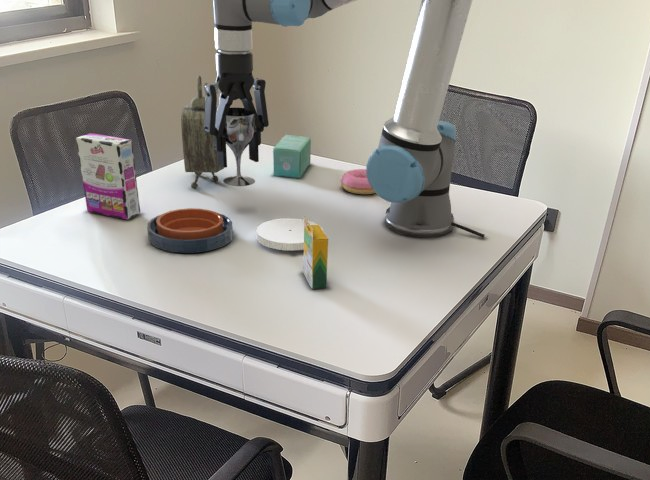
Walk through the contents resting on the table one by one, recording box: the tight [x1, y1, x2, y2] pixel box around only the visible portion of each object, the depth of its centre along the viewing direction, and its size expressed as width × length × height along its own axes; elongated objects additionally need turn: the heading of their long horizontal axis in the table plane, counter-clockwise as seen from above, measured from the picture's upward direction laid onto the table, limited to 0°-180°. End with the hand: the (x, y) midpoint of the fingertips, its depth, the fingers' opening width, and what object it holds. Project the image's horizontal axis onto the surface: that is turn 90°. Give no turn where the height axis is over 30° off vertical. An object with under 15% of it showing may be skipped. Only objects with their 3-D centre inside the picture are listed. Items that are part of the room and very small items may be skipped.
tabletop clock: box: [180, 75, 225, 189], centre depth 176 cm, size 14×9×25 cm, turn 6°
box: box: [272, 134, 312, 179], centre depth 192 cm, size 7×14×8 cm, turn 171°
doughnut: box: [340, 168, 376, 195], centre depth 182 cm, size 11×11×4 cm
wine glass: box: [222, 107, 256, 187], centre depth 158 cm, size 8×8×15 cm
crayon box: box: [302, 216, 329, 290], centre depth 134 cm, size 7×3×12 cm, turn 17°
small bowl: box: [156, 207, 224, 239], centre depth 151 cm, size 13×13×4 cm
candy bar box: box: [75, 132, 141, 220], centre depth 157 cm, size 11×5×16 cm, turn 68°
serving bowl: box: [146, 212, 234, 254], centre depth 151 cm, size 17×17×3 cm
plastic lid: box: [255, 217, 325, 252], centre depth 152 cm, size 14×14×2 cm
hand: (238, 162), depth 160 cm, fingers closed on wine glass, 7 cm apart
